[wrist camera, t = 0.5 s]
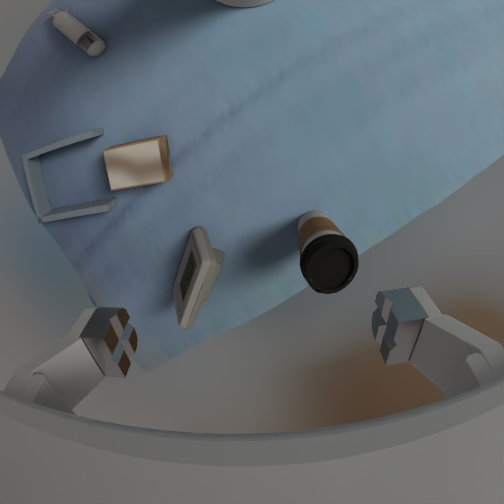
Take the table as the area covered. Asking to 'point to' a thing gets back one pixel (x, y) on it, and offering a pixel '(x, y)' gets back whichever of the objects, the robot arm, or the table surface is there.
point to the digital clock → (195, 277)
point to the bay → (39, 189)
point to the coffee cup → (325, 254)
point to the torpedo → (77, 32)
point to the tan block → (138, 163)
